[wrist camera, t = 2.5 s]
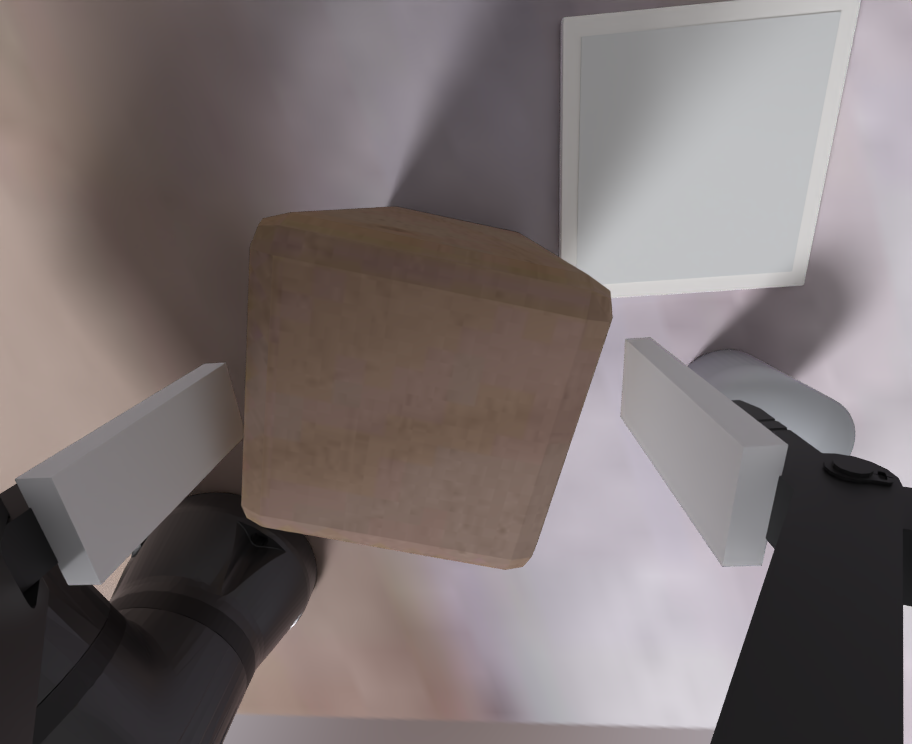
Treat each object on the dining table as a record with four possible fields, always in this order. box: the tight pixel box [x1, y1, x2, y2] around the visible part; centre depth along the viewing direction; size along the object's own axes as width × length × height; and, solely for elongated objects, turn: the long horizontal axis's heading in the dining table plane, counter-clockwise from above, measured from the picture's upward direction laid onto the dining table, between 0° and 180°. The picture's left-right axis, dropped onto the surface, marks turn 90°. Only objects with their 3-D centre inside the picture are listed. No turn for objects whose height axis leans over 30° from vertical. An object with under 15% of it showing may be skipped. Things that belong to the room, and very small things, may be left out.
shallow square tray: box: [559, 0, 861, 298], centre depth 28 cm, size 16×16×1 cm
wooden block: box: [241, 206, 613, 570], centre depth 22 cm, size 10×10×20 cm
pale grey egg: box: [688, 350, 855, 456], centre depth 30 cm, size 7×7×8 cm
